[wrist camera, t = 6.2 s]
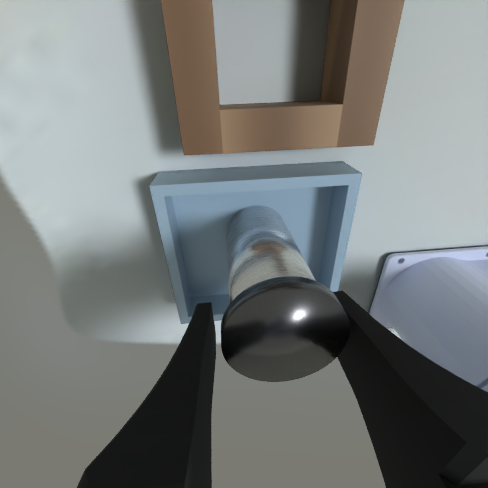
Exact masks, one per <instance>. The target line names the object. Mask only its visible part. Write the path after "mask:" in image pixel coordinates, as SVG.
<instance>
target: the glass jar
mask: <svg viewBox="0 0 488 488" xmlns="http://www.w3.org/2000/svg"><path fill="white" fill-rule="evenodd" d="M226 246H227V264H228V281H229V298H230V304H229V306H228V307H227V309H226V311H225V312H224V315H223V318H222V323H221V348H222V353H223V356H224V358H225V360H226V361H227V363H228V364H229V365H230V366H231V367H232V368H233V369H234V370H235V371H237V372H239V373H240V374H242V375H244V376H246V377H248V378H252V379H255V380H260V381H268V382H269V381H270V382H280V381H288V380H294V379H298V378H302V377H305V376H307V375H310V374H312V373H314V372H316V371H319V370H320V369H322V368H324V367H325V366H327V365H328V364H329V363H331V362H332V361H333V360H334V359H335V358H336V357H337V356H338V355H339V354H340V353H341V351H342V350H343V348H344V347H345V345H346V343H347V341H348V338H349V333H350V323H349V319H348V316H347V314H346V312H345V311H344V309H343V307H342V306H341V304H340V302H339V300H338V299H337V297H336V296H335V294H334V293H333V292H332V291H331V290H330V289H329V288H328V287H326V286H325V285H323V284H321V283H320V282H318V281H316V280H315V278H314V276H313V275H312V273H311V271H310V269H309V267H308V265H307V263H306V261H305V260H304V258H303V256H302V254H301V252H300V250H299V248H298V246H297V244H296V243H295V241H294V239H293V237H292V235H291V233H290V231H289V229H288V228H287V226H286V224H285V222H284V220H283V218H282V217H281V215H280V214H279V213H278V212H277V211H275V210H274V209H272V208H270V207H267V206H261V205H254V206H249V207H246V208H243V209H241V210H240V211H238V212H237V213H236V214H235V215H234V216H233V217H232V218H231V219H230V221H229V223H228V225H227V228H226Z"/></svg>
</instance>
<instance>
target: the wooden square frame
mask: <svg viewBox="0 0 488 488" xmlns="http://www.w3.org/2000/svg"><path fill="white" fill-rule="evenodd" d="M161 5H162V11H163V18H164V25H165V32H166V38H167V45H168V52H169V58H170V65H171V72H172V79H173V85H174V92H175V99H176V106H177V112H178V119H179V126H180V133H181V139H182V146H183V153H184V155H200V154H219V153H237V152H256V151H275V150H293V149H312V148H331V147H350V146H368V145H373V144H374V140H375V135H376V130H377V126H378V121H379V116H380V112H381V107H382V103H383V98H384V93H385V89H386V84H387V79H388V75H389V70H390V65H391V61H392V56H393V51H394V47H395V42H396V37H397V33H398V28H399V23H400V19H401V14H402V9H403V5H404V0H331V2H330V12H329V21H328V31H327V40H326V50H325V59H324V69H323V78H322V88H321V98H320V101H301V102H278V103H255V104H231V105H220V104H219V91H218V77H217V63H216V49H215V35H214V21H213V8H212V0H161Z"/></svg>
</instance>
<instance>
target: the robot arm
mask: <svg viewBox="0 0 488 488" xmlns="http://www.w3.org/2000/svg"><path fill="white" fill-rule="evenodd" d="M399 259H400V260H399ZM398 260H399V261H398ZM333 293H334V294H335V296H336V297H337V299H338V300H339V302H340V304H341V306H342V307H343V309H344V311H345V312H346V314H347V316H348V319H349V323H350V333H349V338H348V341H347V343H346V345H345V347H344V348H343V350H342V351H341V353H340V354H339V355H338V356H337V357H338V359H339V361H340V364H341V366H342V368H343V370H344V372H345V374H346V376H347V378H348V380H349V383H350V385H351V387H352V389H353V391H354V394H355V396H356V398H357V401H358V404H359V407H360V409H361V412H362V415H363V418H364V420H365V423H366V426H367V429H368V432H369V435H370V438H371V441H372V443H373V447H374V450H375V453H376V456H377V459H378V462H379V466H380V469H381V472H382V475H383V478H384V482H385V485H386V488H488V246H484V247H471V248H458V249H446V250H433V251H420V252H407V253H394V254H391V255H389V256H388V257H387V258H386V260H385V264H384V267H383V270H382V273H381V277H380V280H379V283H378V287H377V290H376V293H375V296H374V300H373V303H372V306H371V310H370V313H369V314H368V313H367V312H366V311H365V310H364V309H363V308H362V307H360V306H359V305H358V304H357V303H356V302H355V301H354V300H352V299H351V298H350V297H349V296H348V295H347V294H346V293H345V292H343V291H337V292H333ZM387 328H394V329H395V330H396V332H397V333H398V335H399V336H400V337H401V339H402V340H403V341H402V340H401V339H400V338H398V337H397V336H396V335H394V334H393V333H392V332H390V331H389V330H388V329H387ZM215 359H216V333H215V325H214V318H213V310H212V303H211V302H207V303H198V304H197V305H196V307H195V310H194V313H193V316H192V318H191V321H190V323H189V325H188V328H187V330H186V332H185V334H184V336H183V338H182V340H181V342H180V344H179V346H178V348H177V350H176V352H175V354H174V355H173V357H172V359H171V361H170V362H169V364H168V366H167V367H166V369H165V371H164V372H163V374H162V375H161V377H160V378H159V380H158V381H157V383H156V384H155V386H154V387H153V389H152V390H151V392H150V393H149V394H148V396H147V397H146V399H145V400H144V401H143V403H142V404H141V405H140V407H139V408H138V409H137V410H136V412H135V413H134V414H133V415H132V417H131V418H130V419H129V420H128V422H127V423H126V424H125V425H124V426H123V428H122V429H121V430H120V432H119V433H118V434H117V435H116V436H115V437H114V438H113V439H112V441H111V442H110V443H109V444H108V445H107V446H106V447H105V448H104V449H103V450H102V452H101V453H100V454H99V455H98V456H97V457H96V458H95V459H94V460H93V461H92V462H91V464H90V465H89V466H88V467H87V468H86V469H85V471H84V473H83V475H82V477H81V480H80V482H79V484H78V486H77V488H212V487H211V486H212V484H211V483H212V480H211V410H212V409H211V408H212V395H213V383H214V371H215Z"/></svg>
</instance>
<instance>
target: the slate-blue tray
mask: <svg viewBox="0 0 488 488" xmlns="http://www.w3.org/2000/svg"><path fill="white" fill-rule="evenodd" d="M361 176H362V173H361V172H359V171H358V170H356V169H354V168H353V167H351V166H350V165H348V164H346V163H345V162H343V161H340V162H322V163H304V164H287V165H269V166H251V167H234V168H216V169H198V170H181V171H163V172H158V174H157V175H156V177H155V178H154V180H153V181H152V183H151V184H150V186H149V187H150V191H151V195H152V200H153V204H154V208H155V213H156V217H157V221H158V226H159V230H160V235H161V239H162V243H163V248H164V252H165V256H166V261H167V265H168V269H169V274H170V278H171V283H172V287H173V291H174V296H175V300H176V304H177V309H178V313H179V317H180V322H181V324H185V323H190V321H191V318H192V316H193V313H194V310H195V307H196V305H197V304H198V303H207V302H211V303H212V310H213V318H214V321H219V320H222V318H223V315H224V312H225V311H226V309H227V307H228V306H229V304H230V298H229V281H228V264H227V246H226V228H227V225H228V223H229V221H230V219H231V218H232V217H233V216H234V215H235V214H236V213H237V212H238V211H240V210H241V209H243V208H246V207H249V206H254V205H261V206H267V207H270V208H272V209H274V210H275V211H277V212H278V213H279V214H280V215H281V217H282V218H283V220H284V222H285V224H286V226H287V228H288V229H289V231H290V233H291V235H292V237H293V239H294V241H295V243H296V244H297V246H298V248H299V250H300V252H301V254H302V256H303V258H304V260H305V261H306V263H307V265H308V267H309V269H310V271H311V273H312V275H313V276H314V278H315V280H316V281H318V282H320V283H321V284H323V285H325V286H326V287H328V288H329V289H330V290H331V291H332V292H337V291H338V289H339V284H340V279H341V274H342V269H343V264H344V259H345V254H346V250H347V245H348V240H349V235H350V230H351V225H352V220H353V215H354V210H355V206H356V201H357V196H358V191H359V186H360V181H361Z"/></svg>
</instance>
